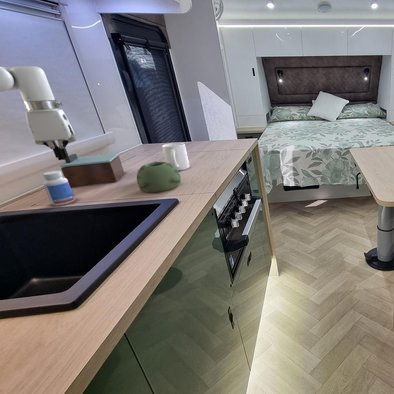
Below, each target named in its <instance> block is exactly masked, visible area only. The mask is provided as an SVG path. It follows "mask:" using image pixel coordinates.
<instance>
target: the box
mask: <svg viewBox="0 0 394 394" xmlns="http://www.w3.org/2000/svg"><path fill="white" fill-rule="evenodd" d="M60 171H61V173H62V176H63V177H64V178H66V179H67V180H68V183H69V185H70V188H71V189H72V188H78V187H79V188H80V187H86V186H87V187H88V186H95V185H104V184H112V183H117V182H118V181H119V180H120V179H121V178H122V176H123V175H124V174H125V170H124V167H123V164H122V161H121V158H120V156H119V155H118V156H117V157H115V158H114V159H113V160H112V161H111V162H108V163H98V164H88V165H78V166H68V167H60Z"/></svg>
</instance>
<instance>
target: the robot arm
mask: <svg viewBox="0 0 394 394" xmlns="http://www.w3.org/2000/svg"><path fill="white" fill-rule="evenodd" d="M15 90H18V91H19V94H20V96H21V98H22V101H23V103H24V106H25V108H26V110H27V111H25V118H26V122H27V127H28V129H29V133H30V134H31V137H32V138H33V140H34V144H35V145H39V146H41V145H42V146H46V147H48V148H49V149H50V150H52V152H53V154H54V156H55V158H56V159H58V161H65V158H66V157H68V156H69V153H68V151H67V149H66V147H67V146H68V145H69V144H71V143H74V142H76V141H77V139H76V137H75V135H76V134H75V131H74V129H73V127H72V125H71V122H70V120H69V118H68V117H67V115H66V113H65V111H64V110H63V109H59V108H60V107H63V103H62V101H57V100H56V99H55V96H54V93H53V91H52V89H51V86H50V83H49V81H48V78H47V76H46V73H45V71H44V69H42V68H41V67H39V66H36V65H35V66H33V65H17V66H16V65H15V66H12V67H11V66H10V67H9V66H0V92H7V91H15ZM56 141H57V142H56Z"/></svg>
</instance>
